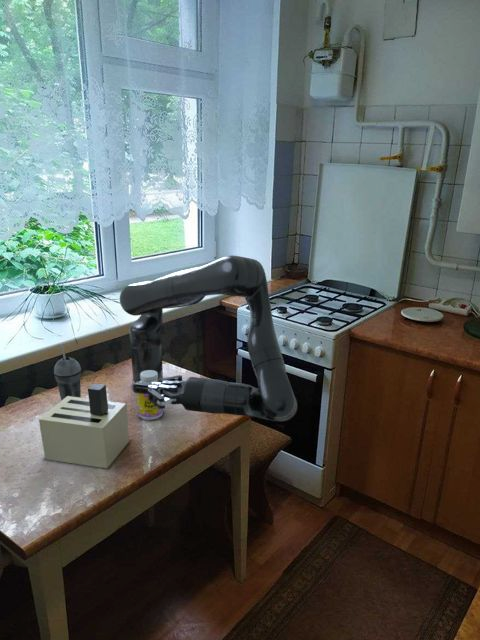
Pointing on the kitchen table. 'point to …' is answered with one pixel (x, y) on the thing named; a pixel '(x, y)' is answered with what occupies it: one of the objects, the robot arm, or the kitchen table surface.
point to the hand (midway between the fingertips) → (134, 387)
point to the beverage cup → (68, 376)
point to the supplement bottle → (144, 405)
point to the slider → (98, 399)
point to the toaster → (84, 433)
